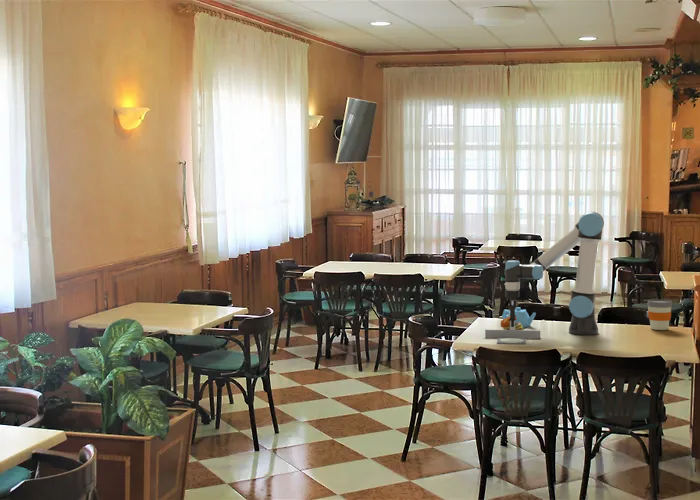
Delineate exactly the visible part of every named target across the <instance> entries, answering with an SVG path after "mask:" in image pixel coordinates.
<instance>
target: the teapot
mask: <svg viewBox="0 0 700 500" xmlns="http://www.w3.org/2000/svg"><path fill="white" fill-rule="evenodd" d="M536 314H537V313H536V312H532V314H531V315H529V313H528V312H527V309H525V308H524V309H521V307H520V306H519V307H517V306H516V309H515V315H516V318H517V319H516V320H515V322H519V323H521V325H522V327H523V328H529V327H530V326H531V324H532V322H533V321H534V319H535V317H536ZM509 316H510V309H504V310H503V312H502V315H501V319H502V320H503V319H505V318H507V317H509Z"/></svg>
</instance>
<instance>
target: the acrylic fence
mask: <svg viewBox="0 0 700 500" xmlns="http://www.w3.org/2000/svg"><path fill="white" fill-rule="evenodd" d="M484 332H485V333H484V335H485V336H484V337H485V338H487V337H488V339H489V338H495V339H498V338H526V339H541V330H539V329H535V330H534V329H531V330H530V329H523V330H504V329H487V328H486V329H485V330H484Z"/></svg>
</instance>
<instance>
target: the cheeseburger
mask: <svg viewBox="0 0 700 500" xmlns="http://www.w3.org/2000/svg"><path fill="white" fill-rule="evenodd" d="M509 319H510V316H509V317H507V318H505V319H503V318H502V319H501V321H500V328H502V330H510V321H509ZM516 319H517V318H516V317H515V320H516ZM515 330H524V327H522V325H521V323H519V322H515Z"/></svg>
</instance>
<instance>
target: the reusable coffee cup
mask: <svg viewBox="0 0 700 500" xmlns="http://www.w3.org/2000/svg"><path fill="white" fill-rule="evenodd" d="M672 302H673V301H672V300H668V299H648V300H647V303H646V304H647V307H648V310H647V314H648V320H649V324H650V326H649V327H650V329H651V330H656V331H657V330H658V331H665V330H669V325H670V321H671V318H672V307H673V303H672Z"/></svg>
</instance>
